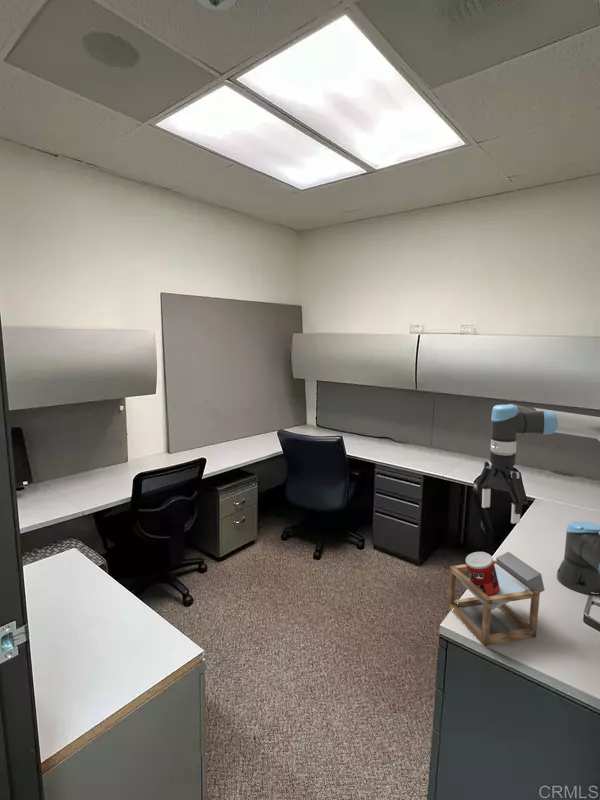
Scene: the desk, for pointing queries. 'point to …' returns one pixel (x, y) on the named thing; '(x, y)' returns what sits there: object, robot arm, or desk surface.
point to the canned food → (483, 572)
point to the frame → (481, 616)
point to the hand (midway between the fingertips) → (499, 514)
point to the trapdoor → (514, 577)
